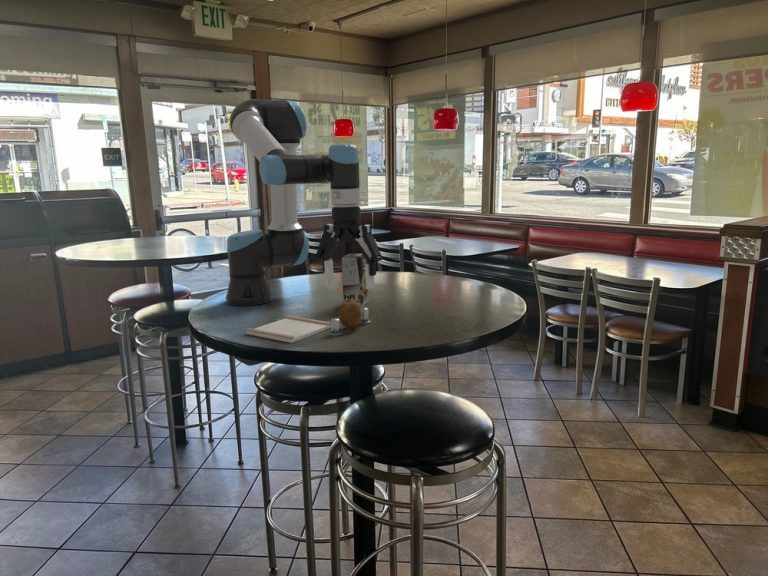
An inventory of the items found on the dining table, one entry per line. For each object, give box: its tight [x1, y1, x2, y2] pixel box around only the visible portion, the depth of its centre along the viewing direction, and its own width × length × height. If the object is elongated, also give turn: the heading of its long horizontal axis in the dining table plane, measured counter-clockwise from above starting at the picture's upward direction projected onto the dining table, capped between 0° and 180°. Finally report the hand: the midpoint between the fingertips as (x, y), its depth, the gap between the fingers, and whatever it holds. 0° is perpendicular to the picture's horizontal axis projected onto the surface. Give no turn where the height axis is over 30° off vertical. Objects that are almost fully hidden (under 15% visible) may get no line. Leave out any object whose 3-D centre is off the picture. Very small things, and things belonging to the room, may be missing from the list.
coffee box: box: [341, 252, 369, 308], centre depth 176 cm, size 9×6×16 cm
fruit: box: [338, 299, 361, 329], centre depth 150 cm, size 6×6×8 cm
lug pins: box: [328, 307, 372, 337], centre depth 150 cm, size 4×17×4 cm, turn 146°
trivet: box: [246, 315, 331, 344], centre depth 149 cm, size 16×16×1 cm
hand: (349, 286), depth 148 cm, fingers open, 13 cm apart
